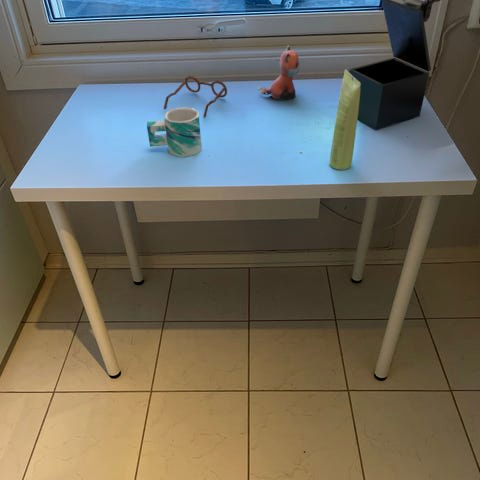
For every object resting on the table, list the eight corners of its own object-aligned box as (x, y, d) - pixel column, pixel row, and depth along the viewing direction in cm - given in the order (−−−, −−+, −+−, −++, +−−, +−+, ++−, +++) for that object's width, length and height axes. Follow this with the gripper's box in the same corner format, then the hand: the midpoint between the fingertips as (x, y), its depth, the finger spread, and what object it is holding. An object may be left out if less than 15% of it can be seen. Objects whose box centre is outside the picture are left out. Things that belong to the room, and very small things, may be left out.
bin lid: (419, 13, 114) (437, -3, 114) (381, -1, 121) (397, -15, 121) (428, 71, 126) (444, 58, 126) (393, 56, 134) (408, 43, 133)
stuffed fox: (257, 91, 148) (256, 45, 139) (296, 89, 148) (298, 43, 139) (259, 102, 142) (259, 55, 134) (300, 100, 143) (302, 53, 134)
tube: (357, 163, 118) (371, 74, 104) (348, 173, 115) (360, 82, 101) (334, 157, 120) (345, 68, 106) (324, 166, 117) (334, 77, 103)
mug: (201, 156, 122) (198, 121, 116) (150, 159, 122) (144, 124, 116) (201, 139, 128) (198, 105, 122) (152, 142, 127) (146, 108, 121)
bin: (375, 130, 129) (382, 86, 121) (343, 112, 137) (348, 69, 129) (419, 116, 134) (429, 72, 126) (386, 99, 142) (394, 57, 134)
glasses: (228, 99, 144) (227, 80, 141) (204, 118, 136) (203, 99, 133) (187, 91, 149) (185, 73, 145) (162, 109, 141) (160, 90, 137)
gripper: (471, -68, 107) (448, 24, 119) (421, -78, 115) (404, 8, 127) (444, -65, 104) (424, 29, 116) (395, -75, 113) (381, 13, 125)
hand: (414, 18), depth 122 cm, fingers closed on bin lid, 5 cm apart
